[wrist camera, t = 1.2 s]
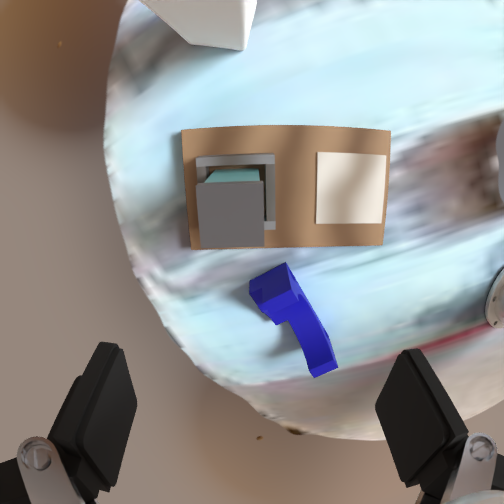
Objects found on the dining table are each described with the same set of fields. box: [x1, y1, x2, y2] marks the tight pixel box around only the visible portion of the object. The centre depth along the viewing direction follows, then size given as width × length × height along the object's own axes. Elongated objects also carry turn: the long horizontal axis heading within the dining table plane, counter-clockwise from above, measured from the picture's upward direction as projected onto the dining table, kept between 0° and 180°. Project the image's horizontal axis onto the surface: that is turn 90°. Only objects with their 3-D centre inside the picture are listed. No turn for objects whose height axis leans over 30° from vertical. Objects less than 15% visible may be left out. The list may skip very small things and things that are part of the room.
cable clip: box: [249, 262, 338, 378], centre depth 33 cm, size 12×4×6 cm, turn 30°
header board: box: [181, 125, 391, 250], centre depth 29 cm, size 20×12×4 cm, turn 92°
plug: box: [196, 168, 265, 248], centre depth 25 cm, size 4×4×9 cm
